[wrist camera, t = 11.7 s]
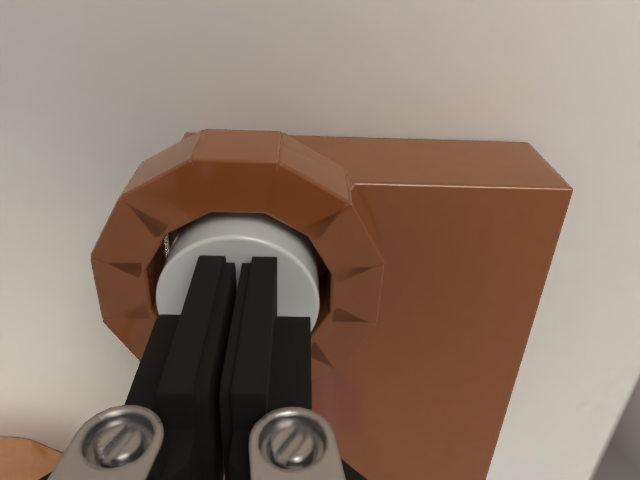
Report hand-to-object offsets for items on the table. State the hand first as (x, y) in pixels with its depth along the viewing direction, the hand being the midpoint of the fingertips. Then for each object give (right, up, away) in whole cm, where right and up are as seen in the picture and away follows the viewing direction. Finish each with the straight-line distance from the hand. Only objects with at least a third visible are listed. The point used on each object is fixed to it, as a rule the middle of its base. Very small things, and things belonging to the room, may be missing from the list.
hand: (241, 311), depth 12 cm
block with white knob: (+3, -1, +7) cm, 7 cm away
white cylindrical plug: (0, +1, +2) cm, 2 cm away
